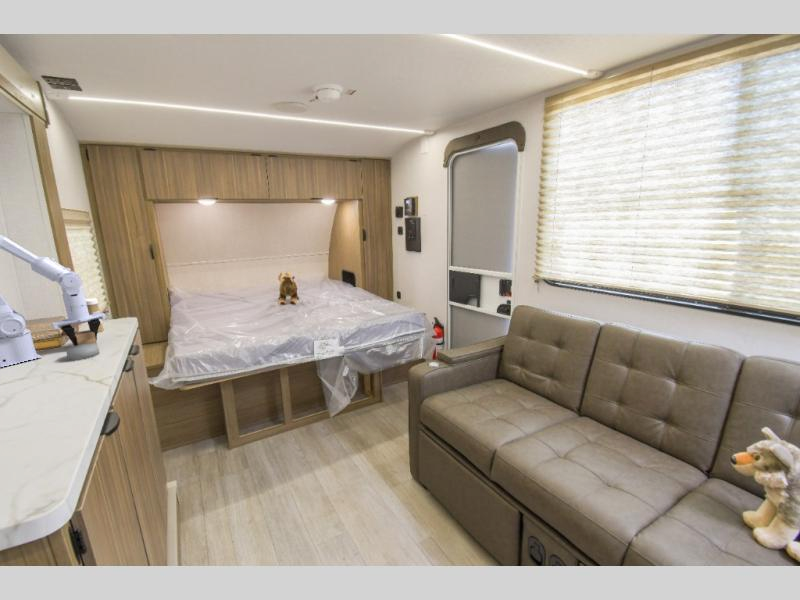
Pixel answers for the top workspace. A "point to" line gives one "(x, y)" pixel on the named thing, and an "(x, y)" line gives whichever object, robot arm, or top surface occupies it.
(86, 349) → the grey rounded dome
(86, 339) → the walnut block
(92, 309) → the sprinkles bottle
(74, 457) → the top surface
